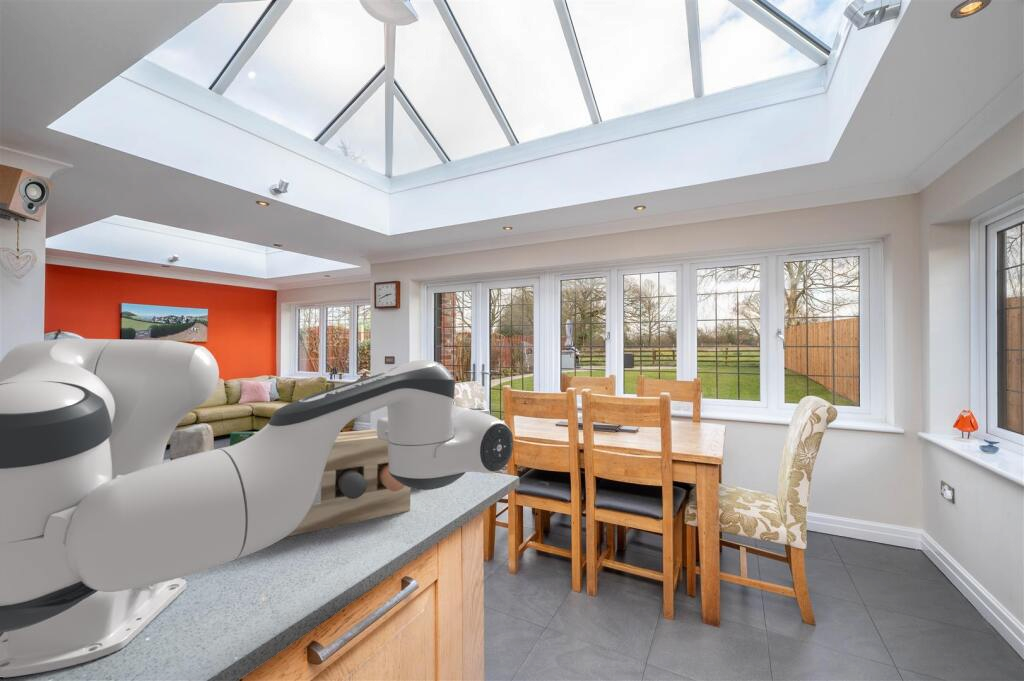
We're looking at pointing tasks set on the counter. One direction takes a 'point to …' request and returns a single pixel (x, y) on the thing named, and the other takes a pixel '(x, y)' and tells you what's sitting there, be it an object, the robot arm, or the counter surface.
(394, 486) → the terracotta button
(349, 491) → the dark grey cylinder
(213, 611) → the counter surface
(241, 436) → the coffee box
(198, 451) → the paper wrapped package
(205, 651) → the counter surface
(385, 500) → the wooden holder box
